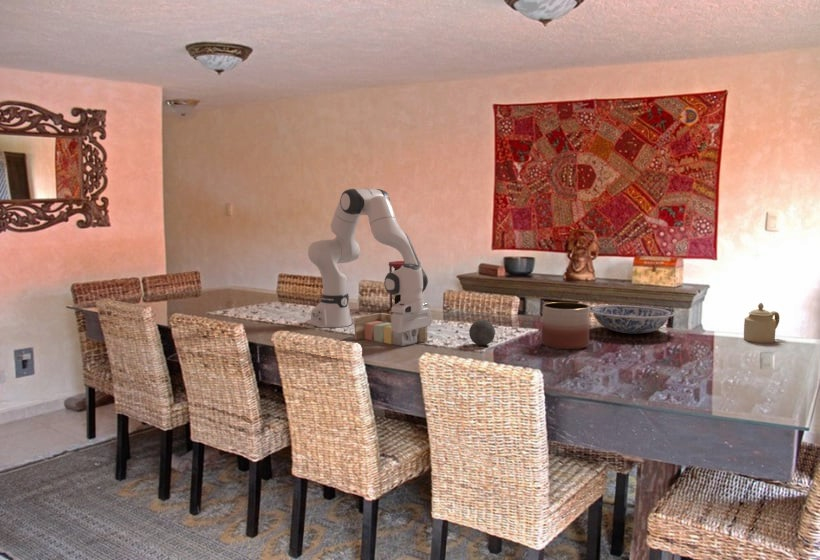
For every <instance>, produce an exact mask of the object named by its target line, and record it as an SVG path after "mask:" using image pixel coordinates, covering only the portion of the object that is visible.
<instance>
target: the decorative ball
mask: <svg viewBox="0 0 820 560" xmlns="http://www.w3.org/2000/svg"><path fill="white" fill-rule="evenodd" d="M468 333H469V339H471V341H472V342H473V344H475V345H476V346H477V345H478V346H481V345H483V346H486V345H489V344H490V343H491V342H493V340H494V338H495V336H496V329H495V327H494V325H493V324H492V323H491V322H490V321H488V320H485V319H479V320H476V321H474V322H473V323H472V324H471V325H470V328H469V332H468Z"/></svg>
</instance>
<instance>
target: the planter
mask: <svg viewBox="0 0 820 560" xmlns="http://www.w3.org/2000/svg"><path fill="white" fill-rule="evenodd" d="M589 308H590V305H588V304H585V303H580V302H573V301H569V302H568V301H557V302H556V301H555V302H552V301H551V302H546V303H543V304H542V319H541V320H542V322H541V323H542V325H541V326H542V327H541V343H542V344H543V345H544V346H546V347H548V348H551V349H553V350H554V349H555V350H565V351H572V350H573V351H574V350H575V351H576V350H582V349H585V348H586V347H588V346H589V343H590V311H589Z"/></svg>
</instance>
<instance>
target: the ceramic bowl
mask: <svg viewBox="0 0 820 560" xmlns="http://www.w3.org/2000/svg"><path fill="white" fill-rule="evenodd" d="M589 313H592V314H593V316H594V318H595V320H596V321H597V322H598V323H599V324H600V325H601V326H602V327H604V328H605V329H607V330H611V331H613V332H618V333H622V334H624V333H625V334H629V335H630V334H631V335H634V334H646V333H647V334H648V333H652V332H655V331H657V330H659V329H660V328H661V329H662V327H663V326H664V325H665V324H666V323H667V322H668V320H669V318H672V317H674V316H675V312H674V311H672V310H668V309H664V308H659V307H653V306H645V305H644V306H643V305H641V306H640V305H628V304H625V305H624V304H606V305H605V304H603V305H602V304H601V305H595V306H591V307H590V306H589Z"/></svg>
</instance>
